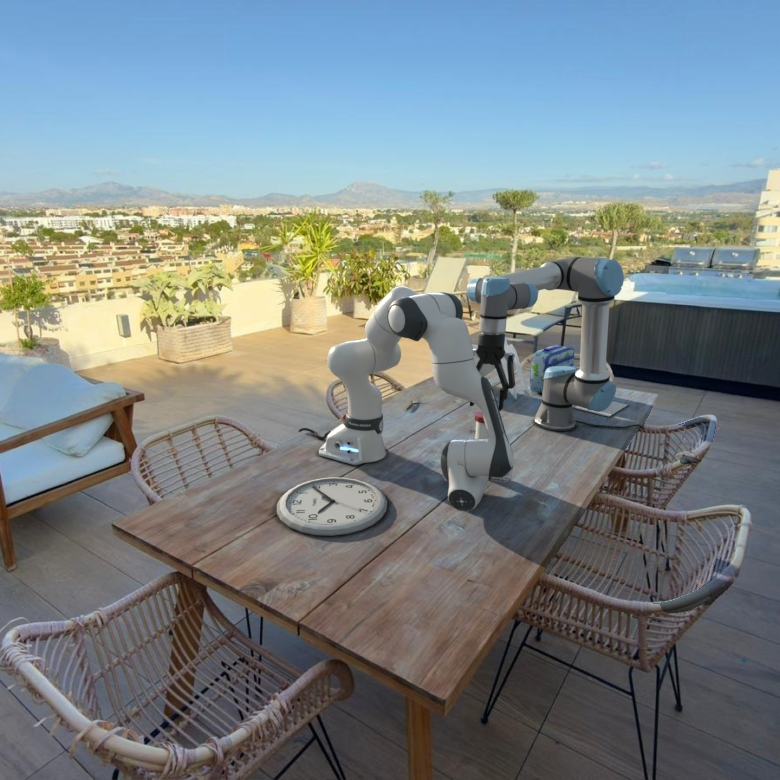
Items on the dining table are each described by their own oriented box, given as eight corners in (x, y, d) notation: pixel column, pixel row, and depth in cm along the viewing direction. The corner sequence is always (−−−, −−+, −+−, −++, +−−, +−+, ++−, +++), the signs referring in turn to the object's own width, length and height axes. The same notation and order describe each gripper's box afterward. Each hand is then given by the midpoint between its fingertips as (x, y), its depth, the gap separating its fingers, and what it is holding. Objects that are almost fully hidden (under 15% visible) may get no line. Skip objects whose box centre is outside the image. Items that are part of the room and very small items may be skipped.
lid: (494, 424, 154) (494, 419, 154) (473, 422, 156) (473, 416, 155) (496, 418, 160) (497, 412, 159) (476, 415, 162) (477, 410, 161)
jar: (488, 478, 160) (493, 420, 154) (471, 475, 161) (475, 417, 156) (490, 470, 165) (495, 414, 159) (474, 468, 166) (478, 412, 161)
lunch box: (546, 398, 236) (551, 353, 229) (525, 393, 243) (529, 349, 237) (573, 387, 253) (579, 344, 247) (553, 382, 260) (558, 341, 254)
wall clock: (392, 527, 129) (268, 531, 127) (391, 533, 130) (269, 537, 127) (383, 473, 158) (282, 475, 155) (383, 478, 158) (282, 480, 156)
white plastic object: (461, 429, 252) (437, 405, 227) (444, 352, 274) (420, 323, 250) (535, 404, 240) (518, 377, 215) (510, 326, 262) (492, 293, 237)
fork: (403, 410, 217) (403, 406, 216) (415, 399, 231) (415, 395, 231) (409, 411, 216) (409, 406, 215) (420, 400, 230) (420, 395, 230)
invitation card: (608, 416, 214) (573, 407, 224) (608, 416, 214) (573, 408, 224) (628, 404, 229) (594, 396, 238) (628, 405, 229) (594, 397, 238)
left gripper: (511, 471, 144) (517, 451, 156) (439, 459, 150) (450, 441, 162) (509, 491, 145) (515, 470, 158) (438, 479, 152) (449, 460, 164)
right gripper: (531, 333, 149) (524, 409, 155) (461, 326, 157) (457, 398, 164) (525, 338, 142) (518, 416, 149) (453, 330, 151) (449, 405, 158)
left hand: (481, 455), depth 160 cm, fingers open, 8 cm apart
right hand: (486, 407), depth 157 cm, fingers open, 8 cm apart
